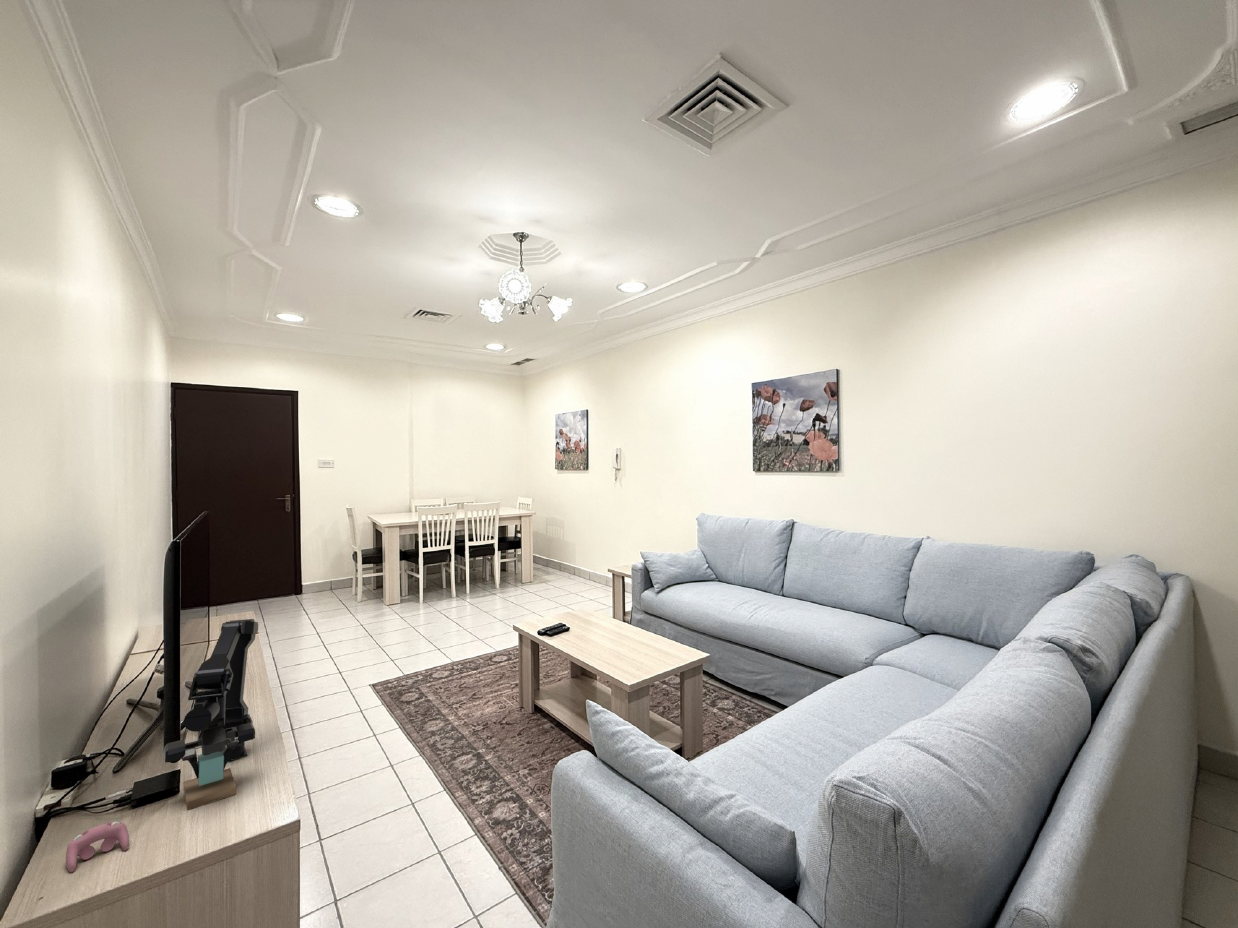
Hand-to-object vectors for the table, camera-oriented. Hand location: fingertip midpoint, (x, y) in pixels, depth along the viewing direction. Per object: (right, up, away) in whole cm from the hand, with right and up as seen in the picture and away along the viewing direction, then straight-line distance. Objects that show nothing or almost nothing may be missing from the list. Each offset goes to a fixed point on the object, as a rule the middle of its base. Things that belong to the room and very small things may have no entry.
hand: (210, 774), depth 140 cm
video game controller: (-6, -4, -24) cm, 25 cm away
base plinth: (0, -5, 0) cm, 5 cm away
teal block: (0, -1, 0) cm, 1 cm away
